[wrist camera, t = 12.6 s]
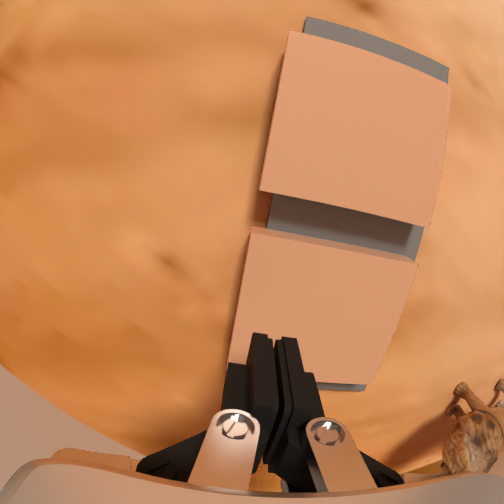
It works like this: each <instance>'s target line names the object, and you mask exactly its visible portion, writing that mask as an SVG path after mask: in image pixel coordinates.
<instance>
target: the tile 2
mask: <svg viewBox="0 0 504 504" xmlns="http://www.w3.org/2000/svg"><path fill="white" fill-rule="evenodd" d="M451 98H452V86H451V85H449V84H447V83H445V82H443V81H441V80H438V79H436V78H434V77H432V76H430V75H428V74H425V73H423V72H421V71H419V70H416V69H414V68H412V67H409V66H407V65H404V64H402V63H399V62H397V61H394V60H391V59H389V58H386V57H383V56H381V55H378V54H375V53H372V52H369V51H366V50H363V49H360V48H357V47H354V46H350V45H347V44H344V43H340V42H337V41H333V40H329V39H325V38H322V37H318V36H313V35H309V34H305V33H300V32H296V31H291V30H290V31H289V35H288V38H287V42H286V47H285V52H284V57H283V62H282V68H281V73H280V78H279V83H278V89H277V94H276V99H275V104H274V110H273V115H272V120H271V125H270V131H269V136H268V141H267V147H266V152H265V157H264V163H263V168H262V173H261V179H260V184H259V190H260V191H265V192H271V193H276V194H281V195H286V196H291V197H297V198H302V199H306V200H311V201H316V202H321V203H326V204H330V205H335V206H339V207H344V208H348V209H353V210H357V211H361V212H366V213H370V214H374V215H378V216H382V217H387V218H391V219H395V220H399V221H403V222H406V223H410V224H414V225H418V226H422V227H425V228H429V226H430V222H431V218H432V214H433V210H434V205H435V201H436V196H437V192H438V187H439V182H440V177H441V171H442V166H443V160H444V154H445V148H446V141H447V134H448V126H449V118H450V108H451Z"/></svg>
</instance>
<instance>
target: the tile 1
mask: <svg viewBox="0 0 504 504" xmlns="http://www.w3.org/2000/svg"><path fill="white" fill-rule="evenodd" d="M417 268H418V264H417V263H416V262H414V261H413V260H411V259H410V258H408V257H407V256H405V255H400V254H395V253H390V252H386V251H381V250H376V249H371V248H366V247H361V246H356V245H351V244H346V243H341V242H336V241H330V240H325V239H320V238H315V237H309V236H304V235H299V234H293V233H288V232H283V231H277V230H272V229H266V228H261V227H255V226H251V232H250V237H249V242H248V248H247V253H246V259H245V264H244V270H243V275H242V281H241V286H240V292H239V297H238V303H237V308H236V314H235V319H234V325H233V330H232V336H231V341H230V347H229V352H228V359H227V367H228V362H232V363H238V364H245V365H246V360H247V356H248V351H249V347H250V342H251V338H252V334H253V332H256V333H263V334H267V335H268V338H271V339H273V348H274V344H275V341H276V339H279V340H281V338H282V336H284V337H291V338H297V341H298V345H299V350H300V354H301V358H302V363H303V367H304V372H312V373H313V374H314V376H315V380H316V382H327V383H344V384H367V385H372V383H373V381H374V378H375V376H376V374H377V372H378V370H379V368H380V365H381V363H382V361H383V359H384V356H385V354H386V352H387V349H388V347H389V345H390V342H391V340H392V337H393V335H394V332H395V330H396V327H397V325H398V322H399V320H400V317H401V314H402V312H403V309H404V306H405V303H406V301H407V298H408V295H409V292H410V289H411V286H412V283H413V280H414V277H415V274H416V271H417ZM226 371H227V368H226Z"/></svg>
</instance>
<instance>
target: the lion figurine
mask: <svg viewBox="0 0 504 504" xmlns="http://www.w3.org/2000/svg"><path fill="white" fill-rule="evenodd" d="M496 388H497V389H498V390H501V391H502V392H503V393H504V379H501V380H500V381H499V382H498V384H497V385H496ZM455 393H456V394H459V396H460V397H461V398H463V399H465V400H466V401H467V403H468V405H469V406H470V408H471V410H472V412H470V413H468V414H467V415H465V413H464V411H463V409H462V408H461V407H460V406H459V405H457V404H455V405H451V406H449V407H448V408H447V409H446V415H448V416H451V415H453V414H454V415H455V416H456V418H457V422H456V423H455V424H454V426H453V428H452V431H451V436H450V437H449V438H448V439H447V440H446V441H445V444H444V446H443V451H442V456H443V460H441V462H440V466H441V469H440V471H439V474H447V475H455V474H463V473H487V472H488V471H489V470H490V469H491V467H492V466H493V464H494V463H495V462H496V461H497V459H498V456H499V455H500V453H501V452H502V451H503V450H504V401H500V402H499V403H498V404H497V405H496V407H494V408H491V409H489V407H487V406H486V405H485V404H484V403H483V402H482V401H481V400H480V399H479V398H478V397H477V396H476V395H475V394H474V393H473V392H472V391H471V390H470V388H469V387H468V385H467V384H466V383H465V382H462V383H460V384H459V385H458V386H457V387H456V389H455Z"/></svg>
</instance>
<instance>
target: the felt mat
mask: <svg viewBox="0 0 504 504" xmlns="http://www.w3.org/2000/svg"><path fill="white" fill-rule="evenodd" d="M303 33H305V34H309V35H313V36H318V37H322V38H325V39H329V40H333V41H337V42H340V43H344V44H347V45H350V46H354V47H357V48H360V49H363V50H366V51H369V52H372V53H375V54H378V55H381V56H383V57H386V58H389V59H391V60H394V61H397V62H399V63H402V64H404V65H407V66H409V67H412V68H414V69H416V70H419V71H421V72H423V73H425V74H428V75H430V76H432V77H434V78H436V79H438V80H441V81H443V82H445V83H447V84H448V73H449V68H448V67H446V66H444V65H442V64H440V63H438V62H436V61H434V60H432V59H430V58H428V57H426V56H423V55H421V54H419V53H417V52H414V51H412V50H410V49H407V48H405V47H403V46H400V45H398V44H395V43H392V42H390V41H387V40H385V39H382V38H379V37H376V36H373V35H371V34H368V33H365V32H362V31H359V30H355V29H352V28H349V27H346V26H342V25H339V24H335V23H331V22H328V21H324V20H320V19H316V18H312V17H306V19H305V25H304V30H303ZM266 229H272V230H277V231H283V232H288V233H293V234H299V235H304V236H309V237H315V238H320V239H325V240H330V241H336V242H341V243H346V244H351V245H356V246H361V247H366V248H371V249H376V250H381V251H386V252H390V253H395V254H400V255H405V256H407V257H408V258H410V259H411V260H413V261H415V258H416V255H417V251H418V248H419V244H420V241H421V237H422V233H423V229H424V227H422V226H418V225H414V224H410V223H406V222H403V221H399V220H395V219H391V218H387V217H382V216H378V215H374V214H370V213H366V212H361V211H357V210H353V209H348V208H344V207H339V206H335V205H330V204H326V203H321V202H316V201H311V200H306V199H302V198H297V197H291V196H286V195H281V194H276V193H273V196H272V202H271V207H270V212H269V217H268V222H267V227H266ZM316 384H317V388H318V389H327V390H346V391H364V390H365V388H366V386H367V384H344V383H327V382H316Z"/></svg>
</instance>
